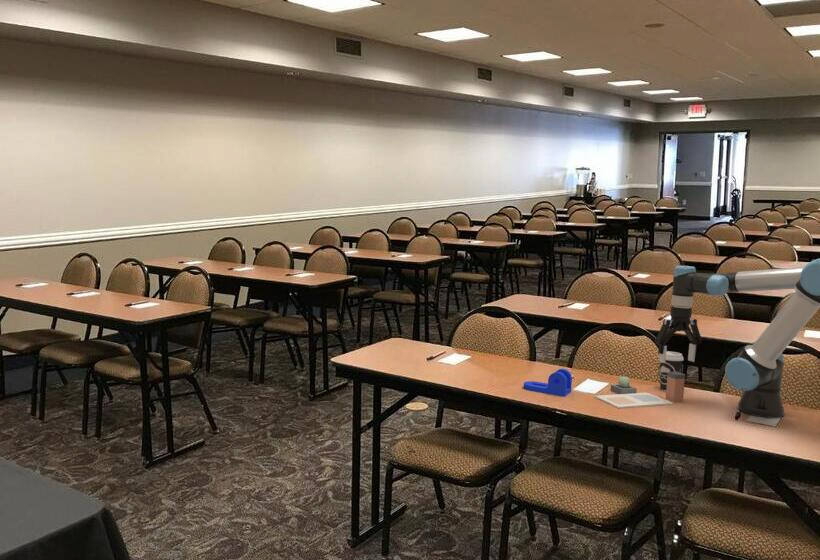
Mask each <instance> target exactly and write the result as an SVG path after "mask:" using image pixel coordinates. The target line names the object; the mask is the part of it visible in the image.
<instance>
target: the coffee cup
mask: <svg viewBox="0 0 820 560" xmlns="http://www.w3.org/2000/svg"><path fill="white" fill-rule="evenodd" d="M684 360H685V359H684V356H683V354H682V353H680V352H678V351H677V352H676V351H669V350H668V351H667V350H666V361H665V363H662V362H659V372H660V373H659V385H660V387H659V388H661V389H663V390H662V391H664V390H666V388H667V372H680V373H682V372H681V371H682V365H683V362H684ZM661 389H660V390H661Z"/></svg>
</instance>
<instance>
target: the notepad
mask: <svg viewBox="0 0 820 560" xmlns="http://www.w3.org/2000/svg"><path fill="white" fill-rule="evenodd" d="M594 398H595V399H598V400H599V401H601V402H603V403H606V404H608V405H611V406H612V407H614V408H616V409H618V410H619V409H630V408H643V407H644V408H645V407H656V406H657V407H659V406H670V405H673V404H674V402H672V401H669V400H667V399H663V398H661V397H659V396H657V395H654V394H652V393H649V392H636V393H631V394H617V393H615V394H604V395H602V394H601V395H594Z"/></svg>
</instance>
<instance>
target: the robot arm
mask: <svg viewBox="0 0 820 560" xmlns="http://www.w3.org/2000/svg"><path fill="white" fill-rule="evenodd" d="M672 279H673V281H672V292H671V303H670V304H671V307H670V312H669V313H670V315H669V316H670V319H667V318H664V319H663V320H662V325H661V327H660V329H659V330H658V333H657V336H656V337H655V339H654V343H655V344H657V345H658V354H659V356H658V362H659V363H660V362H662V363H665V361H666V351H667V349H668V348H667V347H668V346H667V345H666V344H667V343H668V342H669V341H670V339H671V338H672V336H673V335H675V333H677V332H684V334H685V335H686V336H687V338H688V340H689V341H690V343H689V345H688V355H687V361H689V362H692V363H695V358H696V353H697V350H698V346H699V345H701V344H702V343H703V339H702V337H701V333H700V330H699V327H698V319H695V318H692V313H693V309H692V307H693V303H694V302H693V301H694V294H696V293H697V294H701V295H702V294H703V295H709V296H713V297H716V296H719V297H722V296H725V295H726V294H729V293H743V292H744V293H746V292H761V291H778V290H779V291H781V290H795V292H794V293H793V295H792V296H791V297H790V299H789V300H788V301H787V302H786V303H785V304H784V306H783V307H782V308H781V309H780V311H779V312H778V313H777V315H776V316H775V317H774V318H773V319H772V320H771V322H770V323H769V324H768V325H767V327H766V328H765V329H764V331H763V332H762V333H761V334H760V335H759V336H758V338H757V339H756V340H755V341H754V343H753V344H751V345H745V347H744V348H743V349H742V350H741V351H740V352H739V354H738V355H737V357H733V358H732V359H731V360H729V361H728V362H727V363H726V365H725V367H724V373H725V378H726V380H727V382H728V383H729V384H730V386H732V388H734V389H736V390H738V391H742V394H741V396H740V398H739V400H738V402H737V403H738V404H737V409H738V410H739V409H740V410H741V412H742V413H744V414H748V415H752V416H755V417H762V418H781V417H780V416H782V417H783V415H784V416H785V407H784V404H783V401H782V394H781V390H782V381H783V380H782V379H783V370H784V364H785V362H784V354H783V352H784V351H785V350H786V349H787V347H788V346H789V345H790V344H791V343H792V341H794V339H795V338H796V336H798V334H799V333H800V332H801V331H802V329H803V328H804V327H805V326H806V325H807V323H808V322H809V321H810V320H811V319H812V317H813V316H814V315H815V314H816V313H817V311H819V309H820V258H817V259H815V260H812V261H810V262H808V263H806V265H804V266H796V267H782V268H772V269H771V268H769V269H759V270H757V269H756V270H747V271H733V272H731V271H730V272H721V273H704V272H703V273H702V272H697V269H696V267H695V266H689V265H676V266H675V267H674V271H673V276H672ZM740 410H739V411H740Z"/></svg>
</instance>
